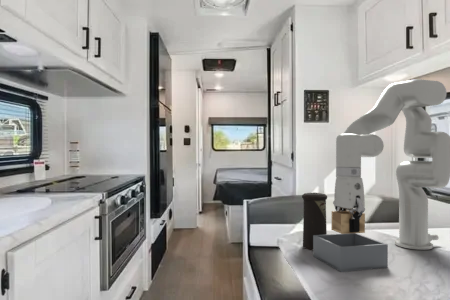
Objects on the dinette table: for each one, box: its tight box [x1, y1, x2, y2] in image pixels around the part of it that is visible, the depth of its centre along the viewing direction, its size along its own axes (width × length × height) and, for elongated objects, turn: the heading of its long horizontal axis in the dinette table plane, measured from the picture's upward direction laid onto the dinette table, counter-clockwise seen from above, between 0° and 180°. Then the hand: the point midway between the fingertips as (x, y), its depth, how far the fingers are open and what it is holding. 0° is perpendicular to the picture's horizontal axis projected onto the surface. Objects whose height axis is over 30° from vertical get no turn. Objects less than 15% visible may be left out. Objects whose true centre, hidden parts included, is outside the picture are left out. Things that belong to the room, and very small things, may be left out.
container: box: [301, 192, 328, 251], centre depth 128 cm, size 9×9×20 cm
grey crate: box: [312, 233, 389, 273], centre depth 111 cm, size 16×16×7 cm
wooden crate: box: [331, 210, 366, 234], centre depth 111 cm, size 8×6×6 cm
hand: (347, 229), depth 111 cm, fingers closed on wooden crate, 6 cm apart
